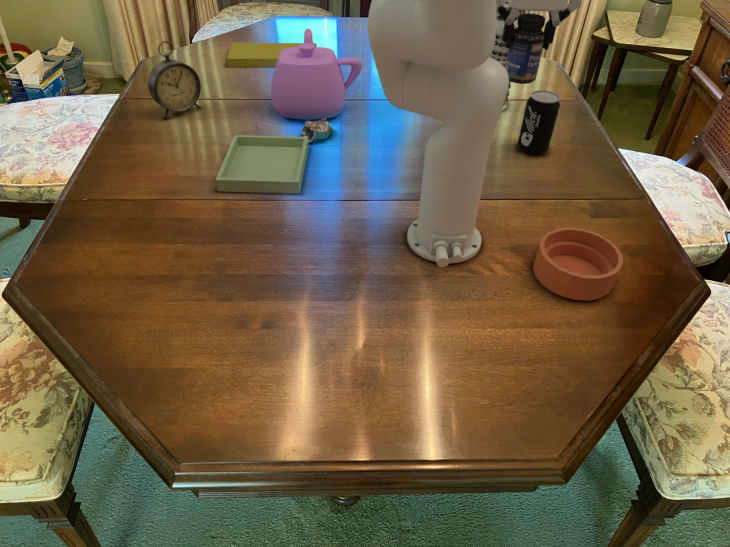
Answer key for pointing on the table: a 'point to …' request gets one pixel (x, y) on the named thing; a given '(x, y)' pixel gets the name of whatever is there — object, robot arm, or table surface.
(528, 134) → the beverage can
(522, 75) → the pill bottle
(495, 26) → the robot arm
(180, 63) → the alarm clock
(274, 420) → the table surface
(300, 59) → the teapot
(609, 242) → the bowl
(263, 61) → the flat olive board
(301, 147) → the tray
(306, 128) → the ornament
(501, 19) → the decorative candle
